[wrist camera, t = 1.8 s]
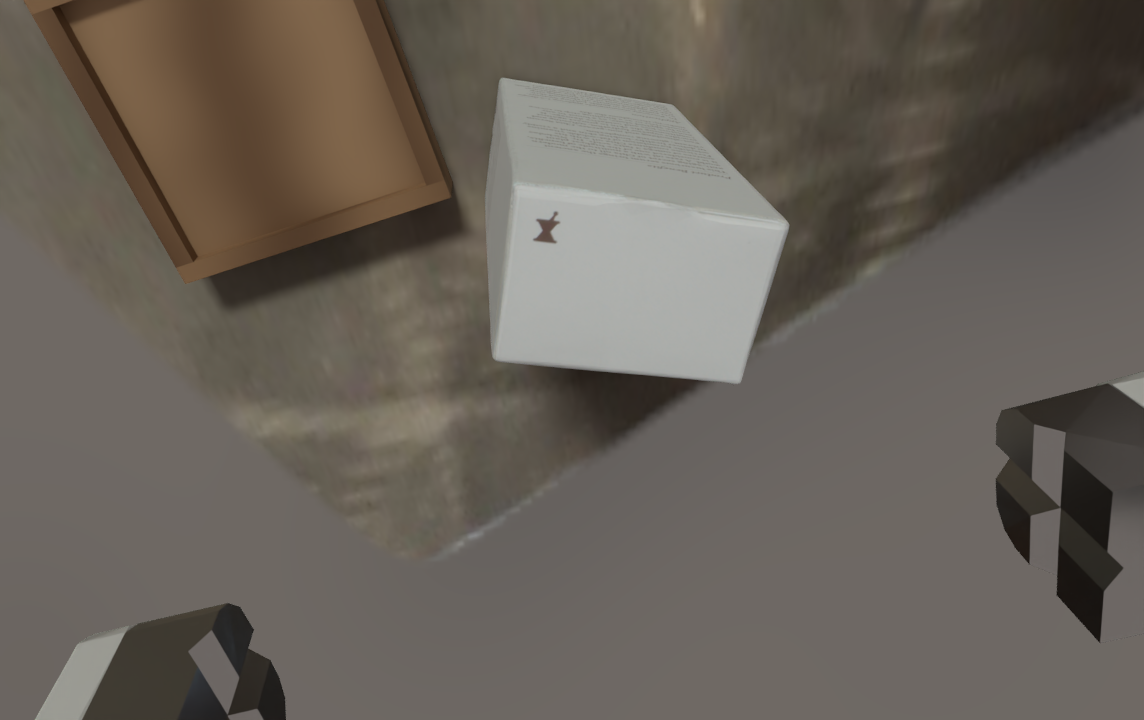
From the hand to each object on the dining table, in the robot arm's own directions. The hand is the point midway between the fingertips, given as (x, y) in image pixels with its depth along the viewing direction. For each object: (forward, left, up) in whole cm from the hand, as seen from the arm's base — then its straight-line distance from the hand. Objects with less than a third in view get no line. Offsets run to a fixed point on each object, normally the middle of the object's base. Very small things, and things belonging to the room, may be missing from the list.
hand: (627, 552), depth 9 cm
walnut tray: (+8, -3, -22) cm, 23 cm away
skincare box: (-1, +2, -22) cm, 22 cm away
